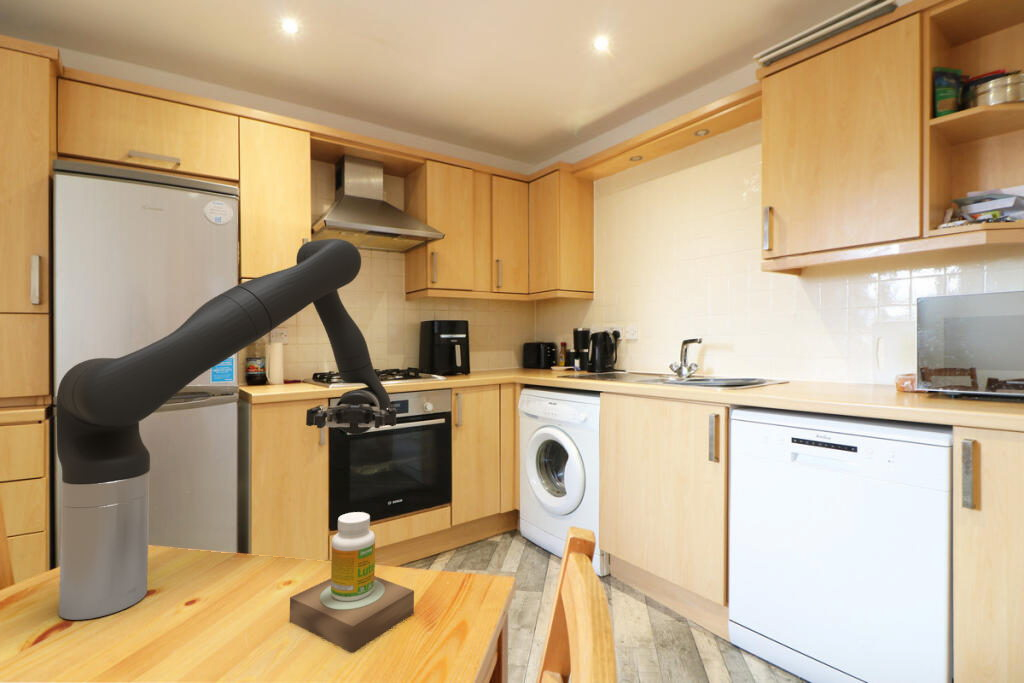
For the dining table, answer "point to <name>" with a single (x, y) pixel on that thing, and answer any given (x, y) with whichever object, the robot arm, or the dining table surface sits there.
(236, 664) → the dining table surface
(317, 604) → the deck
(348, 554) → the supplement bottle
